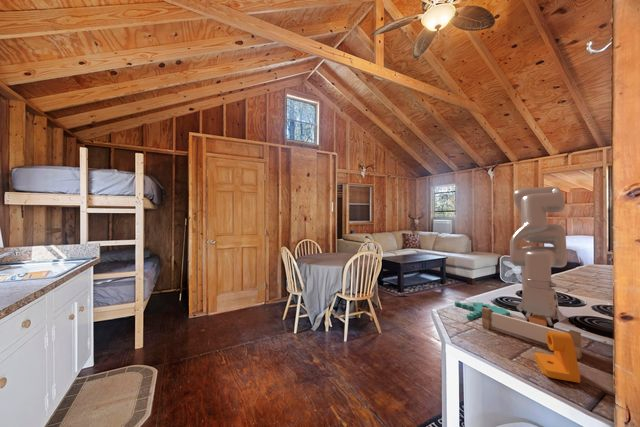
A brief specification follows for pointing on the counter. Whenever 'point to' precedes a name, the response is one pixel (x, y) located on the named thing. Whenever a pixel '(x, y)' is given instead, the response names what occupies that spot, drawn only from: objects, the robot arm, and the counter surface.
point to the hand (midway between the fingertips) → (540, 331)
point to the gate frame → (488, 325)
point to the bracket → (559, 358)
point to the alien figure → (478, 309)
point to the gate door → (521, 327)
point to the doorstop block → (538, 320)
